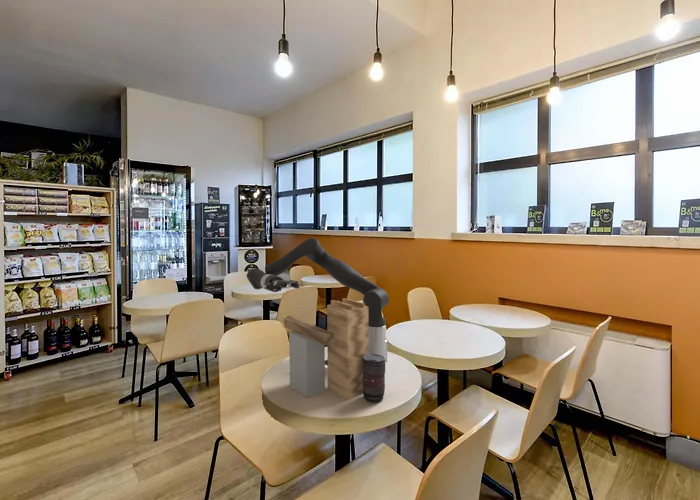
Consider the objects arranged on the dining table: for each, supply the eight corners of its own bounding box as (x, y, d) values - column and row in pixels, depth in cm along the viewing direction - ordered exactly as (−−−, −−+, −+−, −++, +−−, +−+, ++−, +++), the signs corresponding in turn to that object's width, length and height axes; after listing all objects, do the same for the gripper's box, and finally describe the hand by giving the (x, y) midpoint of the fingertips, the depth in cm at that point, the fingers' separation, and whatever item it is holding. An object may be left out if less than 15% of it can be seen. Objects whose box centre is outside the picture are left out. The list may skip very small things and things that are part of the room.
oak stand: (348, 380, 137) (347, 297, 135) (368, 391, 128) (368, 302, 126) (327, 388, 131) (327, 301, 129) (347, 400, 121) (347, 306, 119)
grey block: (307, 380, 138) (306, 328, 136) (325, 390, 129) (324, 335, 127) (289, 385, 133) (289, 332, 131) (306, 397, 123) (306, 340, 122)
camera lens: (384, 405, 118) (384, 362, 117) (360, 402, 120) (360, 360, 119) (386, 394, 126) (386, 354, 125) (364, 392, 127) (364, 352, 127)
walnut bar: (291, 324, 142) (291, 314, 142) (335, 342, 119) (334, 330, 119) (281, 326, 139) (281, 315, 139) (324, 345, 116) (324, 332, 116)
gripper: (257, 276, 153) (274, 280, 141) (285, 273, 162) (303, 276, 150) (257, 292, 154) (274, 298, 141) (285, 289, 163) (304, 293, 150)
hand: (289, 287), depth 146 cm, fingers open, 8 cm apart
